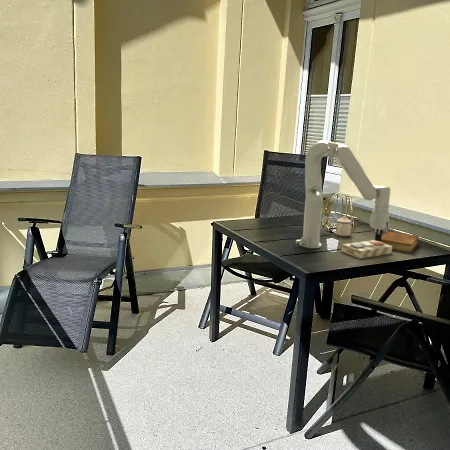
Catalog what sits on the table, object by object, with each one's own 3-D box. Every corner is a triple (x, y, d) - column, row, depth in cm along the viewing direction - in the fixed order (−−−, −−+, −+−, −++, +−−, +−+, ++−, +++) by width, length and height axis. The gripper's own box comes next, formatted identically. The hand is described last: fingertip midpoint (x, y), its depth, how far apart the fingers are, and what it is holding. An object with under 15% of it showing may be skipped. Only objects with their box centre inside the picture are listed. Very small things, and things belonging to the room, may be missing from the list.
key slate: (356, 251, 240) (357, 246, 239) (350, 248, 244) (350, 244, 243) (363, 250, 242) (364, 245, 241) (356, 247, 246) (357, 243, 245)
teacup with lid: (337, 231, 291) (339, 214, 288) (351, 234, 286) (353, 216, 283) (332, 235, 280) (333, 217, 278) (346, 237, 276) (348, 219, 273)
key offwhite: (366, 249, 243) (367, 245, 242) (360, 247, 247) (360, 242, 247) (373, 248, 245) (374, 244, 245) (366, 246, 250) (367, 242, 249)
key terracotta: (376, 248, 246) (377, 243, 246) (370, 245, 251) (370, 241, 250) (383, 247, 249) (383, 242, 248) (376, 244, 253) (377, 240, 252)
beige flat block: (359, 258, 235) (360, 251, 234) (341, 251, 247) (342, 244, 246) (391, 253, 246) (392, 246, 245) (372, 246, 258) (373, 240, 257)
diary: (385, 239, 277) (386, 231, 275) (417, 245, 267) (418, 235, 266) (376, 248, 258) (377, 238, 256) (410, 253, 248) (411, 244, 247)
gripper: (366, 206, 249) (363, 238, 253) (386, 211, 236) (383, 244, 241) (375, 205, 253) (372, 236, 257) (396, 210, 240) (393, 242, 244)
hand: (378, 240), depth 249 cm, fingers closed
